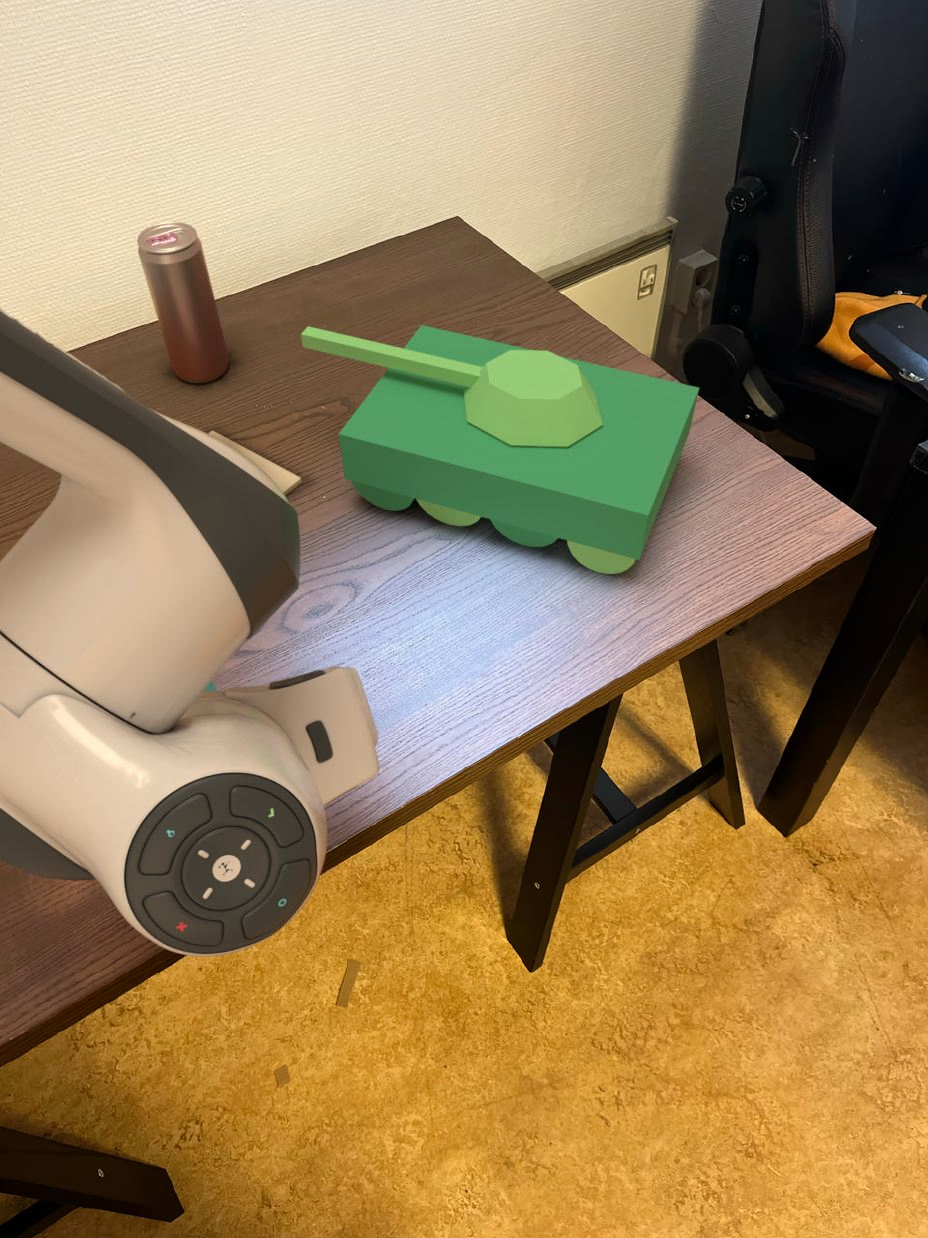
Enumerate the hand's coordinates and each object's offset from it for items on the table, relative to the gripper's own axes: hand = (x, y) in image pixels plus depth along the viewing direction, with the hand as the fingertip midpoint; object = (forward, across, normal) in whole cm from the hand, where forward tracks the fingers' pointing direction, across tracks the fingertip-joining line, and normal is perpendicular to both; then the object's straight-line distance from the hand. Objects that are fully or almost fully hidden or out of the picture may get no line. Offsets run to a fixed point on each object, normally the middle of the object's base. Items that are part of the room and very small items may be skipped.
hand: (203, 735), depth 62 cm
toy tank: (+22, +32, +11) cm, 40 cm away
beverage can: (+42, +12, +30) cm, 53 cm away
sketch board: (+27, +6, +16) cm, 32 cm away
